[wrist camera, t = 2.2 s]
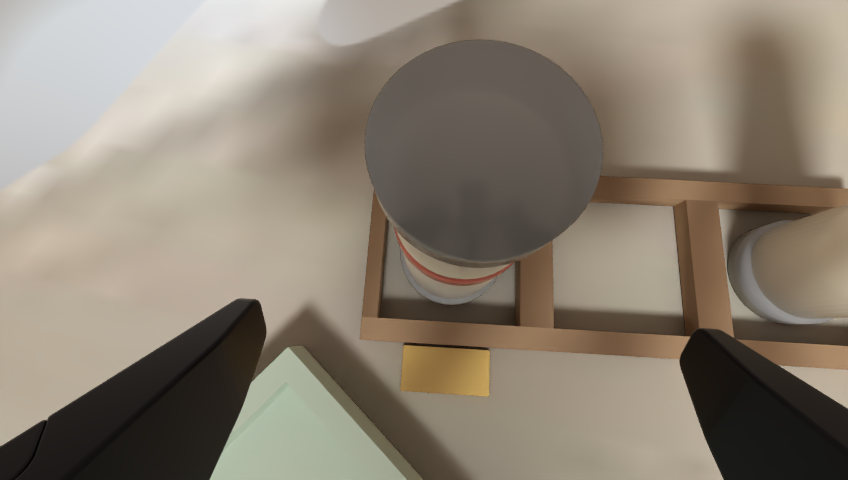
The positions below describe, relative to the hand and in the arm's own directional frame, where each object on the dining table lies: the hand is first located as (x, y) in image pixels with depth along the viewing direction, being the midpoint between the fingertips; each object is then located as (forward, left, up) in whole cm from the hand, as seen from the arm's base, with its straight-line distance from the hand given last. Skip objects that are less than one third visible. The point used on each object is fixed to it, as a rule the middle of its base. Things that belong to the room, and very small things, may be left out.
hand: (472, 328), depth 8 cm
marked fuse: (+2, -3, -11) cm, 11 cm away
